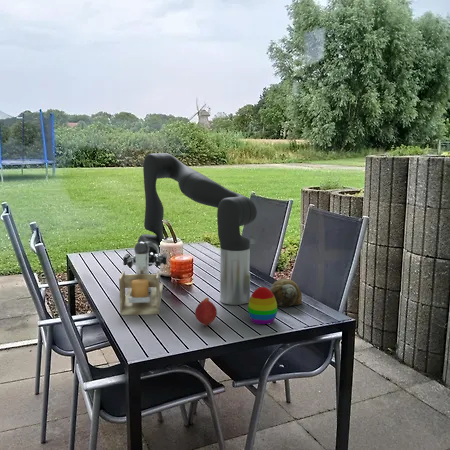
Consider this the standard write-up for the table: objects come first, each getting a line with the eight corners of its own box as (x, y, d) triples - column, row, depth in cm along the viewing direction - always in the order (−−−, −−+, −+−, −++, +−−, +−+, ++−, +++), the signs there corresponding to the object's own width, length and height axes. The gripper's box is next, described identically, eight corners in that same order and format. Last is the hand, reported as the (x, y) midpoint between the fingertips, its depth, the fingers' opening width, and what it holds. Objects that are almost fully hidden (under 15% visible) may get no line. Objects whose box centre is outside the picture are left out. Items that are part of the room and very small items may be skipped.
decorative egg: (262, 314, 134) (263, 281, 133) (282, 322, 128) (283, 287, 126) (241, 320, 129) (242, 286, 127) (262, 329, 123) (263, 293, 121)
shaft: (153, 288, 146) (152, 240, 143) (149, 302, 133) (148, 249, 130) (134, 288, 146) (132, 240, 143) (128, 302, 133) (127, 249, 130)
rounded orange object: (149, 291, 138) (149, 278, 138) (148, 296, 133) (147, 283, 133) (132, 291, 138) (132, 279, 137) (130, 297, 133) (130, 284, 132)
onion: (197, 330, 122) (197, 301, 120) (193, 322, 127) (193, 295, 126) (218, 328, 123) (219, 300, 122) (213, 320, 129) (213, 293, 127)
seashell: (280, 311, 137) (281, 285, 135) (263, 302, 145) (264, 277, 143) (310, 305, 142) (311, 280, 140) (292, 297, 150) (293, 273, 149)
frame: (162, 286, 159) (162, 256, 158) (158, 314, 133) (157, 277, 132) (131, 287, 158) (130, 256, 157) (120, 315, 132) (119, 278, 131)
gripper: (127, 243, 161) (120, 253, 145) (167, 242, 162) (165, 252, 146) (128, 263, 162) (121, 276, 146) (168, 263, 163) (166, 275, 147)
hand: (143, 264), depth 146 cm, fingers open, 8 cm apart
